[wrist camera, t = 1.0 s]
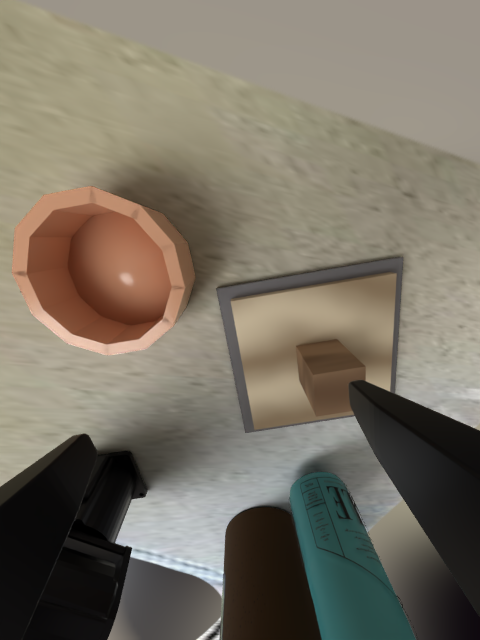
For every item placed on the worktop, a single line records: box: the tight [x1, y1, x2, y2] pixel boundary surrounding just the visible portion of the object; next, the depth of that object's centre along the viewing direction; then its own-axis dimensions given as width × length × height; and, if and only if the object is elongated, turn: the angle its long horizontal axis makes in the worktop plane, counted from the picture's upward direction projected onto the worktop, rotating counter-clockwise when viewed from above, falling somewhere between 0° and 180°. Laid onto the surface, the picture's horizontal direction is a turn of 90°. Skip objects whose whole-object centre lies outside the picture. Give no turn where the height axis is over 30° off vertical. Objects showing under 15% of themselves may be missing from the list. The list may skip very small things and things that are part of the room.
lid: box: [231, 272, 397, 430], centre depth 19 cm, size 13×13×5 cm
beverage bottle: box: [289, 472, 416, 640], centre depth 17 cm, size 6×7×20 cm
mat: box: [216, 257, 403, 433], centre depth 21 cm, size 15×15×1 cm
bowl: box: [12, 186, 196, 356], centre depth 17 cm, size 10×10×4 cm
